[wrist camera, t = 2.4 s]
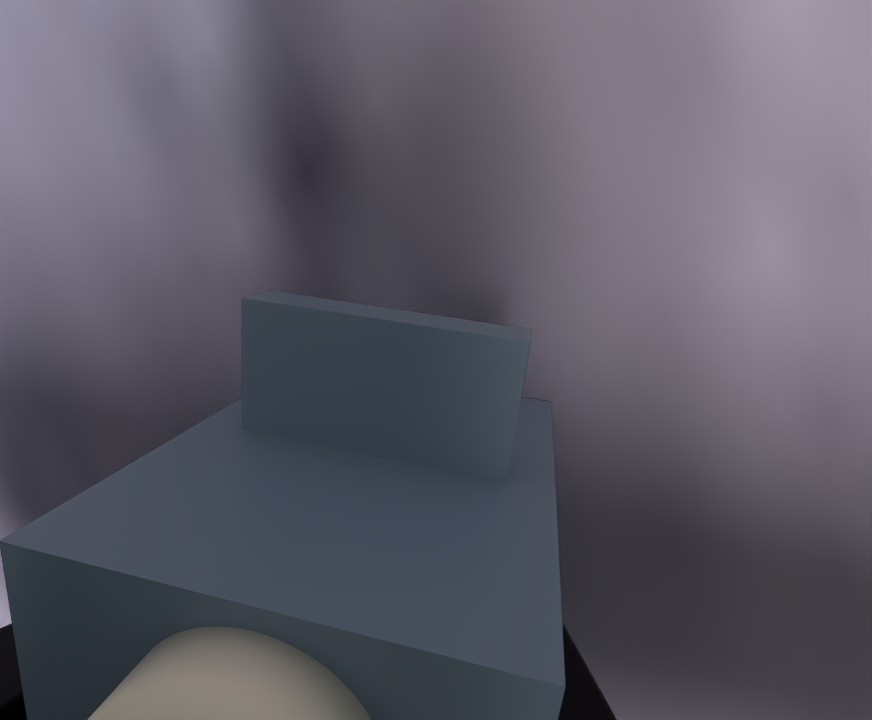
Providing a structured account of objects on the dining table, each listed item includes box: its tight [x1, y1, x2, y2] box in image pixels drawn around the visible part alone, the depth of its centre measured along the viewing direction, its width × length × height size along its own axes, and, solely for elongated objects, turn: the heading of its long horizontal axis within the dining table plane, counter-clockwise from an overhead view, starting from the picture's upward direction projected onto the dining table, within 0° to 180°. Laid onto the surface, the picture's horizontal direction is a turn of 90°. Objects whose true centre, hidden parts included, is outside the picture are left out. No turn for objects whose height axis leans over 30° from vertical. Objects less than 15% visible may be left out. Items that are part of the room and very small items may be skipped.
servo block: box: [0, 290, 565, 720], centre depth 6 cm, size 9×4×6 cm, turn 174°
